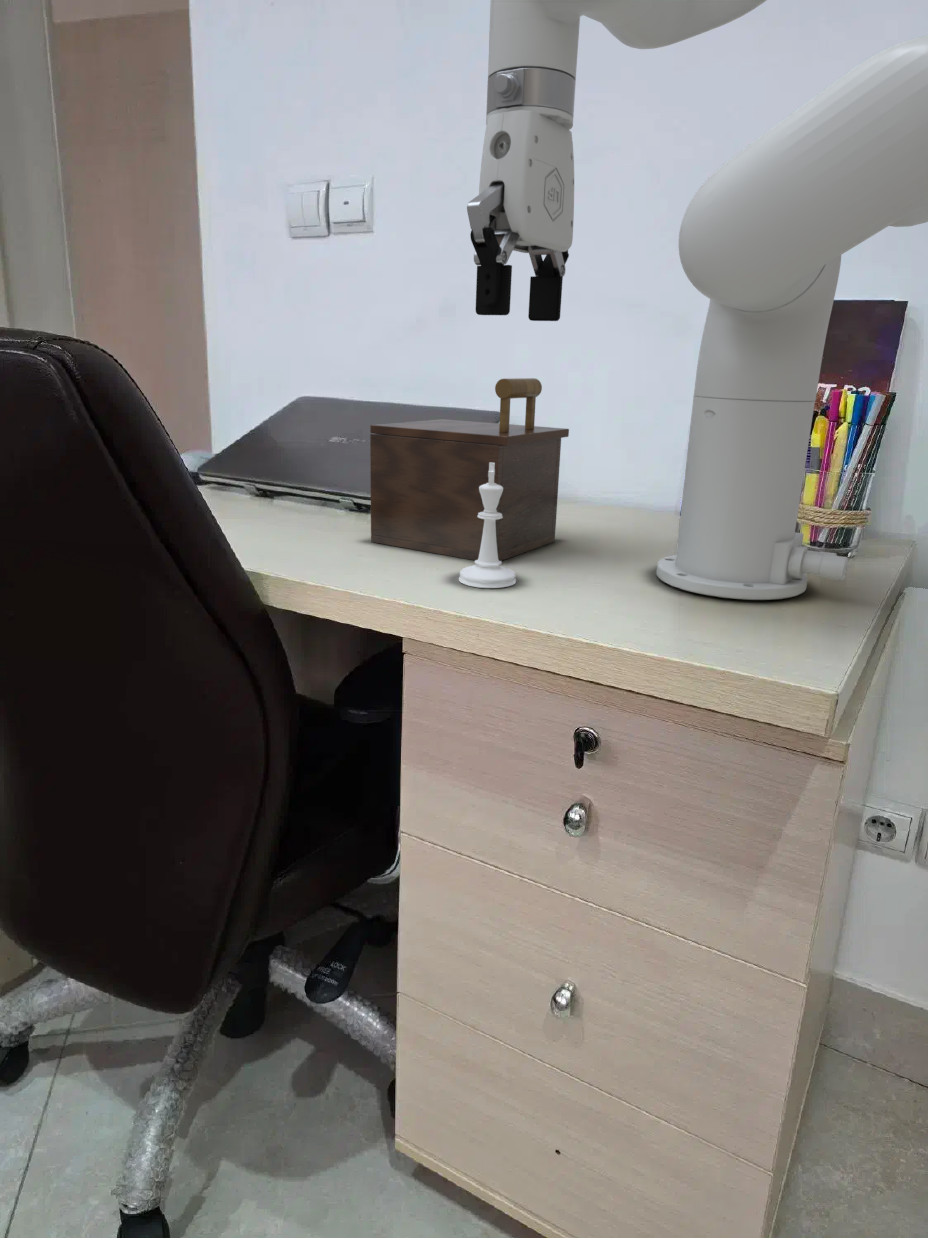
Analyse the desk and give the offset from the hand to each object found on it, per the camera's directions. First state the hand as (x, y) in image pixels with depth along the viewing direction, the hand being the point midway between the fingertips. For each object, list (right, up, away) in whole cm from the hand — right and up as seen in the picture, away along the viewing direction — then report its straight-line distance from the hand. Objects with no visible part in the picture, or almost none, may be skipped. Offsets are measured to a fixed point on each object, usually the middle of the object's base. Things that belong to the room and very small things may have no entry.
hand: (519, 317), depth 76 cm
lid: (-4, -10, +6) cm, 12 cm away
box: (-5, -20, +9) cm, 22 cm away
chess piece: (-3, -25, -6) cm, 26 cm away
